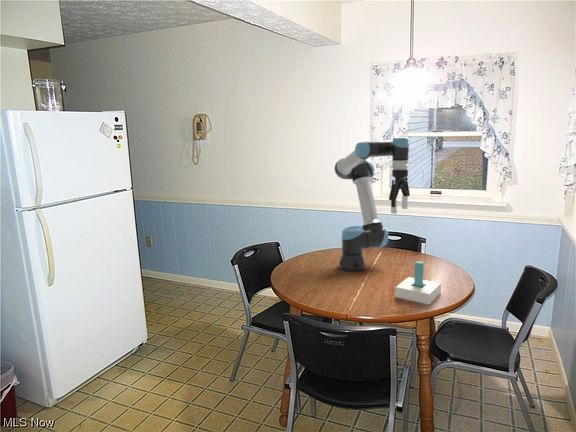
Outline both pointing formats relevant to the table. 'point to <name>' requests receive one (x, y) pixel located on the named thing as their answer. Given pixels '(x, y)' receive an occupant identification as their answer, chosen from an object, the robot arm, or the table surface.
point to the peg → (418, 274)
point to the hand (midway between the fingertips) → (399, 211)
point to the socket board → (418, 291)
